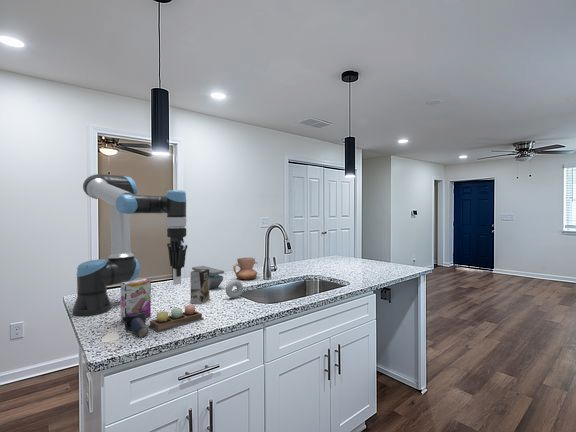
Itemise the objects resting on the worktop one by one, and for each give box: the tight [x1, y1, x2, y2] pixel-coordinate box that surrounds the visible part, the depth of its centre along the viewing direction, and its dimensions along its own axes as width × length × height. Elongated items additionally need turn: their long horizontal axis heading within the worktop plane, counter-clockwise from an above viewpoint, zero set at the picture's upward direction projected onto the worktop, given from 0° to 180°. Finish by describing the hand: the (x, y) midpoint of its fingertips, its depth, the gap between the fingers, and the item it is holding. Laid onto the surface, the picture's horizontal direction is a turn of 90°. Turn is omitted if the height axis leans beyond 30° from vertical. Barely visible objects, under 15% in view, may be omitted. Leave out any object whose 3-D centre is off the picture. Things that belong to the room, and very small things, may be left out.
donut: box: [225, 279, 244, 299], centre depth 167 cm, size 10×4×10 cm, turn 130°
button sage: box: [170, 307, 183, 318], centre depth 130 cm, size 4×4×3 cm
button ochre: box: [156, 311, 169, 321], centre depth 125 cm, size 4×4×3 cm
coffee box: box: [190, 269, 210, 305], centre depth 161 cm, size 9×6×16 cm
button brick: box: [184, 304, 196, 314], centre depth 134 cm, size 4×4×3 cm
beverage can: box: [122, 311, 150, 338], centre depth 120 cm, size 9×8×12 cm
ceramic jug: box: [232, 256, 259, 281], centre depth 215 cm, size 18×14×14 cm
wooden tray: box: [147, 310, 204, 333], centre depth 130 cm, size 9×20×2 cm, turn 137°
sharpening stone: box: [191, 265, 225, 290], centre depth 193 cm, size 25×8×11 cm, turn 44°
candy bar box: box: [120, 278, 152, 323], centre depth 135 cm, size 11×5×16 cm, turn 141°
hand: (177, 283), depth 130 cm, fingers closed
